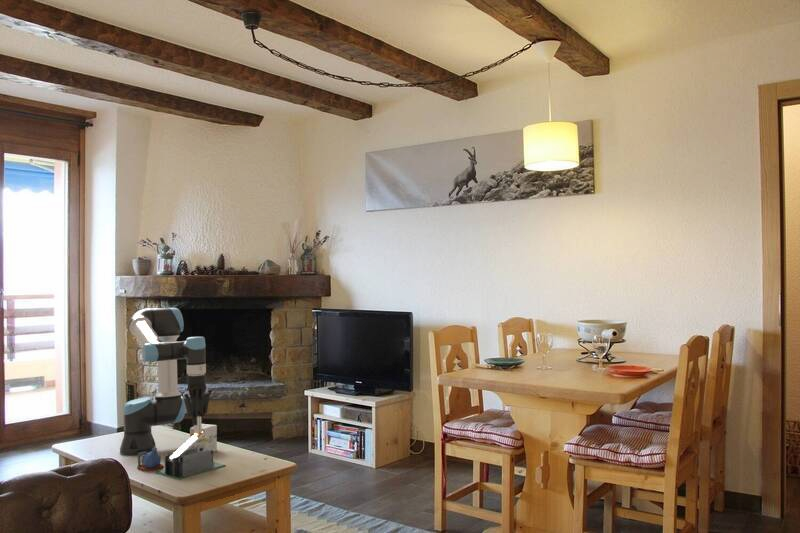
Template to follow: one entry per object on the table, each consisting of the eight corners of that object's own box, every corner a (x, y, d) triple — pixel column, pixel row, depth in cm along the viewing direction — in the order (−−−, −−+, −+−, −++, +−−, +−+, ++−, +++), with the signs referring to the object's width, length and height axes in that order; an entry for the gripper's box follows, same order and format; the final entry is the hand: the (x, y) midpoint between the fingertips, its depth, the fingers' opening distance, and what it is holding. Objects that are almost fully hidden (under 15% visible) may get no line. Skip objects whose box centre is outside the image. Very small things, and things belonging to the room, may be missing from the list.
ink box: (189, 453, 292) (189, 427, 292) (202, 449, 300) (201, 423, 300) (205, 455, 289) (204, 428, 289) (217, 450, 297) (217, 424, 297)
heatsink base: (155, 473, 263) (155, 453, 263) (202, 460, 280) (201, 442, 280) (178, 479, 253) (178, 459, 253) (225, 466, 270) (225, 447, 270)
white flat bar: (173, 463, 257) (172, 460, 256) (168, 462, 259) (166, 459, 259) (205, 433, 269) (204, 431, 268) (199, 432, 271) (198, 430, 271)
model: (168, 467, 270) (167, 445, 270) (147, 473, 263) (146, 450, 263) (153, 463, 278) (152, 441, 278) (132, 468, 271) (132, 445, 271)
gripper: (187, 377, 261) (189, 436, 260) (215, 373, 272) (217, 430, 271) (176, 376, 266) (178, 434, 265) (204, 372, 276) (205, 428, 276)
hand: (197, 432), depth 268 cm, fingers closed
